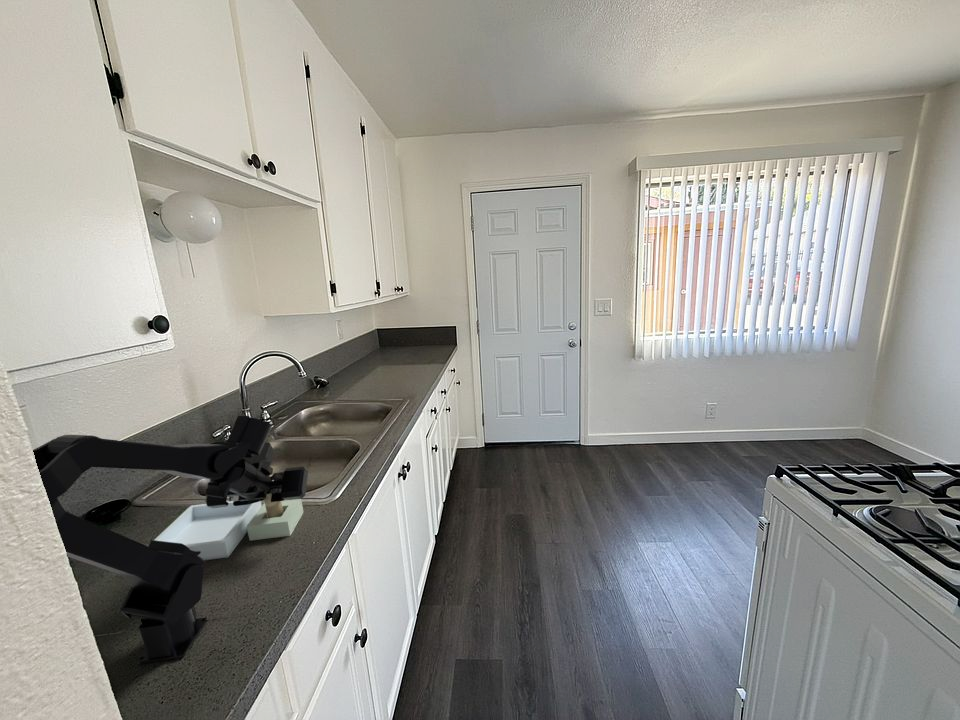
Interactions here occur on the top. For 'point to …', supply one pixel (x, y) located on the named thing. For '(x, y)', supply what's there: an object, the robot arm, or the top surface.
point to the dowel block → (275, 521)
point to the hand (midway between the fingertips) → (275, 496)
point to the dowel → (273, 507)
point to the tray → (211, 528)
